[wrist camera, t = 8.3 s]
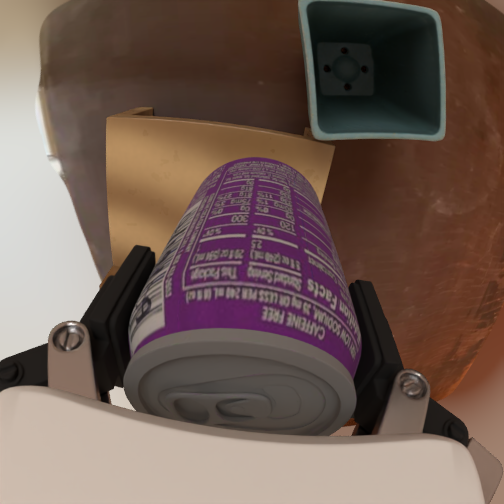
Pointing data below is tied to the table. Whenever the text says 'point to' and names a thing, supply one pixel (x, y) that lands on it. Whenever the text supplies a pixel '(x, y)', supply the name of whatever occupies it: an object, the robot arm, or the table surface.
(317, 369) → the beverage can
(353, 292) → the robot arm
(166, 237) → the wooden block with backrest
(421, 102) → the flower pot
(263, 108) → the table surface
